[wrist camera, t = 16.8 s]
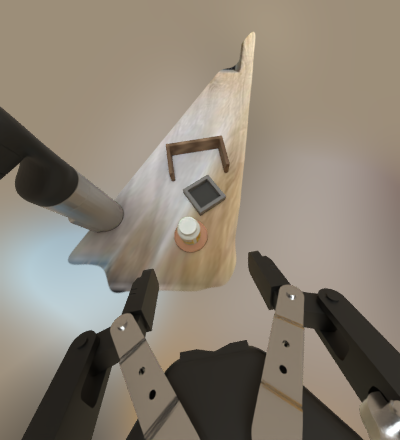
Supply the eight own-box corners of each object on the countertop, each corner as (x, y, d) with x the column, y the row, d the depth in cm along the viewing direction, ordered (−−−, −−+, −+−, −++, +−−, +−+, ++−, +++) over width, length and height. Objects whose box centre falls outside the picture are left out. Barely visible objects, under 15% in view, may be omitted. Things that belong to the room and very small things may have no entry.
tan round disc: (186, 258, 41) (185, 258, 40) (169, 231, 44) (168, 230, 43) (213, 239, 43) (214, 238, 42) (195, 214, 45) (195, 213, 44)
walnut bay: (172, 181, 49) (169, 173, 45) (168, 153, 53) (165, 144, 49) (227, 172, 50) (229, 163, 46) (220, 145, 53) (221, 135, 49)
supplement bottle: (186, 248, 41) (181, 242, 32) (177, 231, 43) (170, 221, 34) (204, 239, 42) (204, 229, 33) (194, 222, 43) (192, 209, 34)
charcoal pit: (200, 215, 45) (200, 213, 43) (183, 193, 48) (182, 189, 46) (225, 199, 47) (225, 196, 45) (207, 178, 49) (207, 174, 47)
